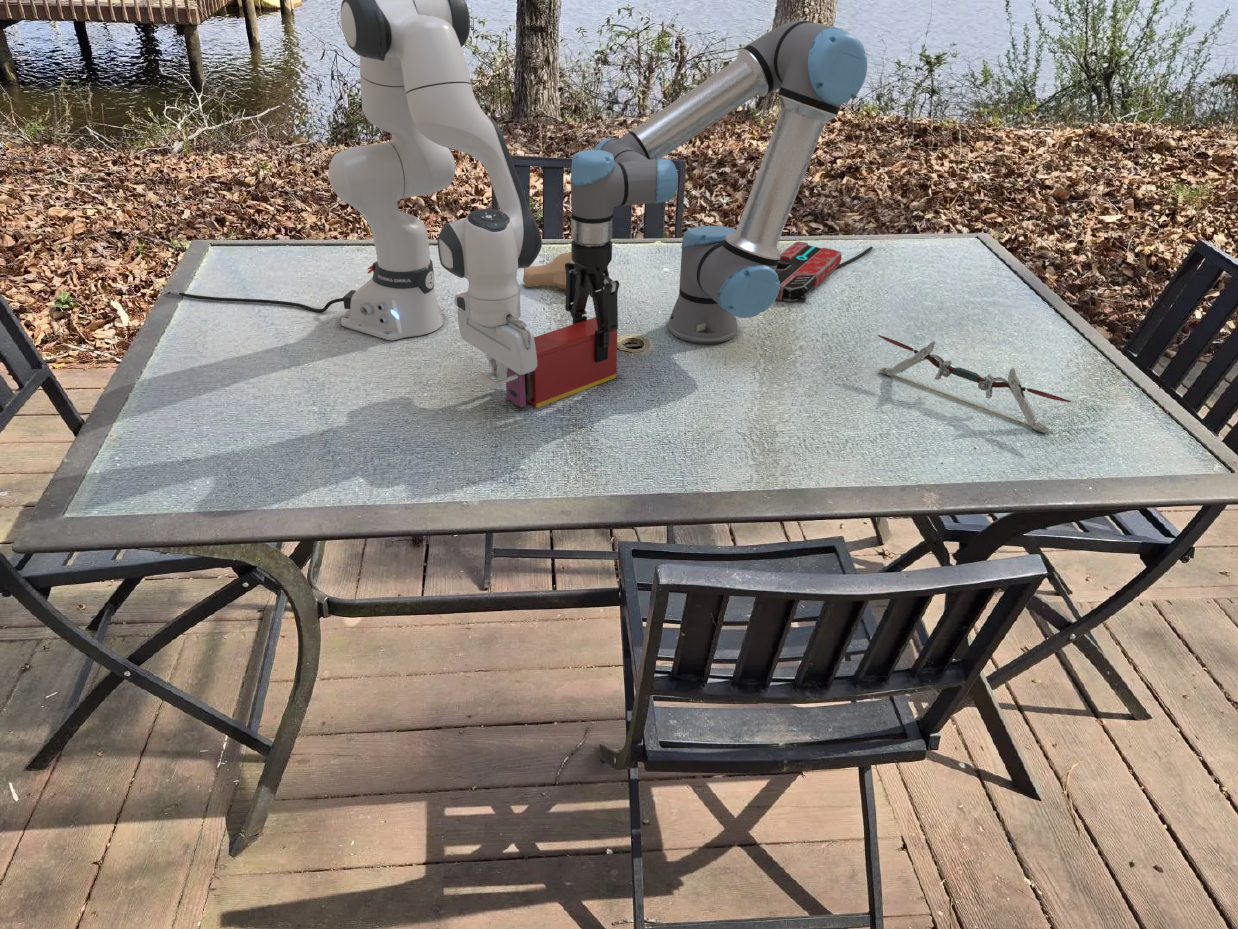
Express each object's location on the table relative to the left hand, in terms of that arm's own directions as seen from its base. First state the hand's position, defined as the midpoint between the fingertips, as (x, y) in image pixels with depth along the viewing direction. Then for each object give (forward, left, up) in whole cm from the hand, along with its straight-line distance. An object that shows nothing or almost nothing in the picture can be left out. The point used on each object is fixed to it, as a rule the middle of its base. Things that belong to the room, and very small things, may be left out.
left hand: (499, 378), depth 160 cm
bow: (+82, +36, -8) cm, 90 cm away
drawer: (+4, +8, -7) cm, 12 cm away
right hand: (+11, +19, -2) cm, 22 cm away
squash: (-11, +61, -8) cm, 62 cm away
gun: (+40, +88, -8) cm, 97 cm away
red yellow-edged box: (+8, +14, -8) cm, 18 cm away
